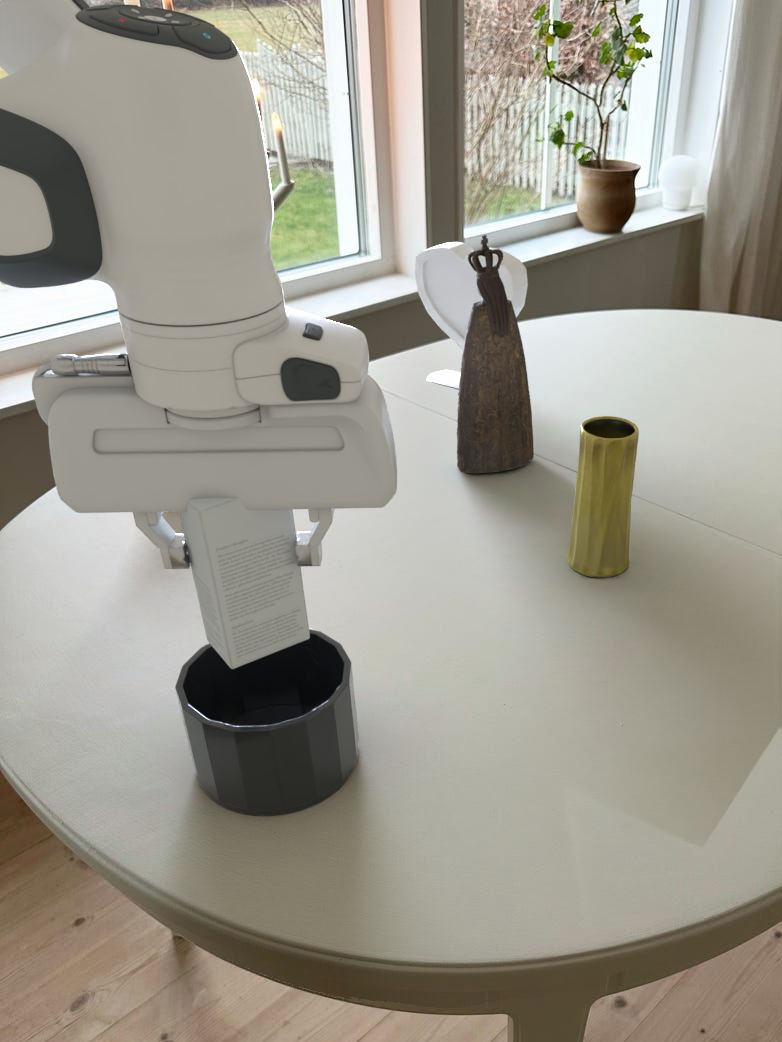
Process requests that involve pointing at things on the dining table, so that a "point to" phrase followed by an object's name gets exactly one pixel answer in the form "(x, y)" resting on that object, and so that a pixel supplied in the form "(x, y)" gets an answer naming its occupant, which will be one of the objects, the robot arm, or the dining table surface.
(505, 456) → the statue
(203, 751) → the holder pot
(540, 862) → the dining table surface
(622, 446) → the vase
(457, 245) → the heart sculpture
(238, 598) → the cosmetic box
